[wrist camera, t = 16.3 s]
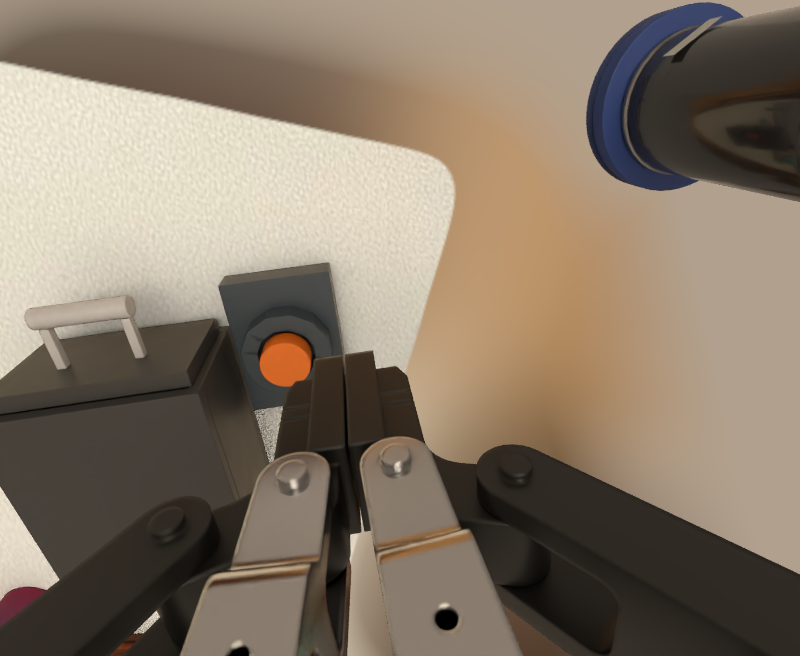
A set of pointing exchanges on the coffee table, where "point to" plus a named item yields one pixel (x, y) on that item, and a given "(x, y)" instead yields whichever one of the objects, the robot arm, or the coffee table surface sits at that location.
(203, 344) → the dark box with handle
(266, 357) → the button
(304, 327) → the control block
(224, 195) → the coffee table surface
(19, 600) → the cup
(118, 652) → the contraption on wooden base
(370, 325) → the coffee table surface
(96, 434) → the drawer cabinet
